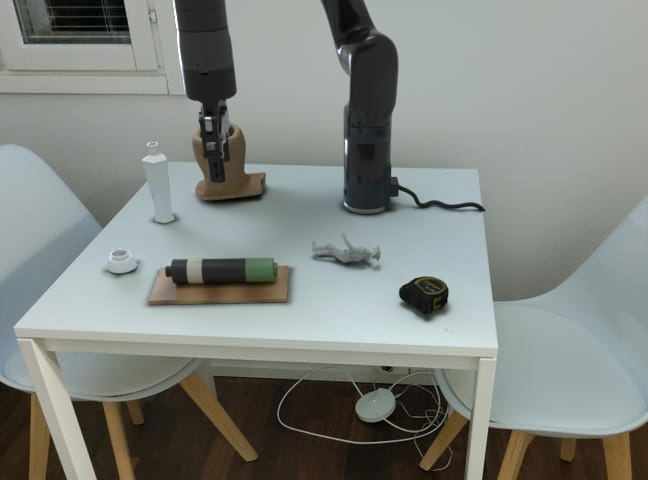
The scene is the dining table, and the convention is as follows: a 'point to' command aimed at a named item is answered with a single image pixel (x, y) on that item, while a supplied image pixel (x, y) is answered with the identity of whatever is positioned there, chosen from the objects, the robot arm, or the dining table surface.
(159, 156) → the perfume bottle
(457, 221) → the dining table surface
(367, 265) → the dining table surface
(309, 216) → the dining table surface
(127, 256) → the white jar
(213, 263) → the marker
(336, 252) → the soldier figure
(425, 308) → the tape measure
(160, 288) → the wooden board
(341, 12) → the robot arm
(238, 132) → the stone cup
